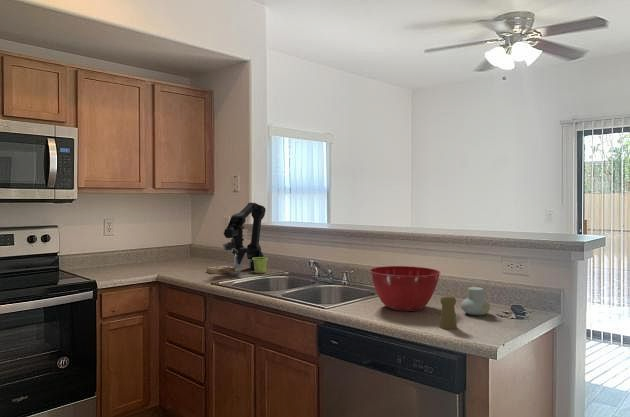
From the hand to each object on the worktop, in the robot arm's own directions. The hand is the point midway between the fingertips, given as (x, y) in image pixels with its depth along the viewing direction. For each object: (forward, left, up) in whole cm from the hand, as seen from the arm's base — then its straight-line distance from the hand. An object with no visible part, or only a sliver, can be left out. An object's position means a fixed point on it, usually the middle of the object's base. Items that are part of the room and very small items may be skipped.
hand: (237, 263), depth 283 cm
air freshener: (-49, +133, -6) cm, 142 cm away
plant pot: (-13, +2, -6) cm, 15 cm away
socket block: (+7, -10, -6) cm, 14 cm away
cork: (-26, +142, -6) cm, 144 cm away
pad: (0, 0, -6) cm, 6 cm away
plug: (0, 0, -2) cm, 2 cm away
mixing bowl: (-32, +111, -6) cm, 116 cm away
